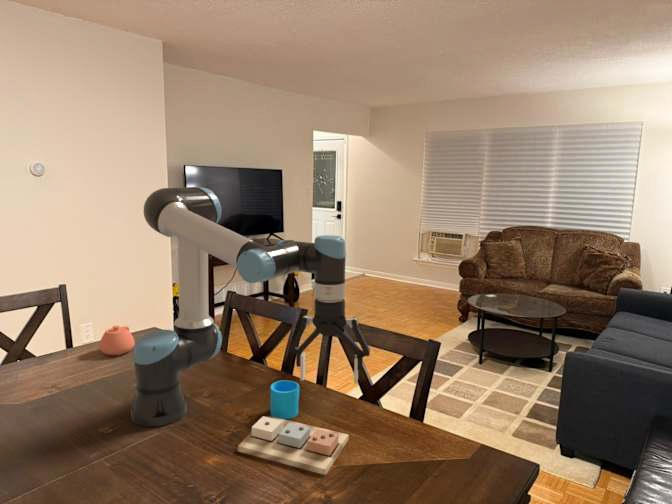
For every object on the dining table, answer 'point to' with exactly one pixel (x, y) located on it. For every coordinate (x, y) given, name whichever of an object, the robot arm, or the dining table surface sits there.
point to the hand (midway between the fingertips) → (329, 379)
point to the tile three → (322, 442)
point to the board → (293, 451)
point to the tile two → (294, 435)
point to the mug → (284, 399)
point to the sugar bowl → (116, 341)
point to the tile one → (267, 428)
